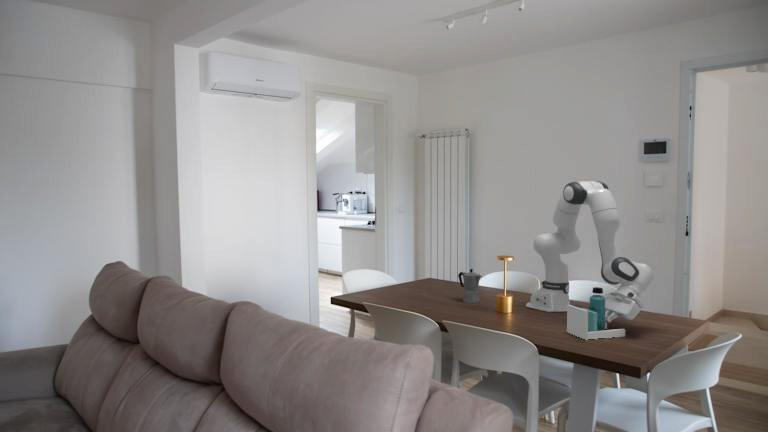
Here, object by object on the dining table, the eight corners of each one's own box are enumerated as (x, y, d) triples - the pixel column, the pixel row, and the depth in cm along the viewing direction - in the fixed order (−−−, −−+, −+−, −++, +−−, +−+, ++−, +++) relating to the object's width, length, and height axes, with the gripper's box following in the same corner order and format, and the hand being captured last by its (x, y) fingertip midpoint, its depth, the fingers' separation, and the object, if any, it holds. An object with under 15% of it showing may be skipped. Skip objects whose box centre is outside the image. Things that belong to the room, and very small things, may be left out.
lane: (605, 328, 231) (605, 301, 231) (625, 336, 219) (625, 307, 219) (566, 332, 226) (567, 304, 226) (585, 340, 214) (585, 311, 214)
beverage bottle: (593, 331, 227) (594, 285, 226) (608, 334, 222) (609, 287, 221) (585, 334, 223) (586, 287, 222) (600, 337, 218) (601, 289, 217)
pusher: (583, 330, 226) (583, 307, 226) (597, 336, 218) (597, 312, 217) (580, 331, 226) (580, 308, 225) (593, 337, 217) (594, 313, 217)
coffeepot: (486, 302, 287) (486, 269, 286) (476, 304, 280) (476, 271, 279) (463, 298, 298) (463, 266, 297) (453, 300, 291) (453, 268, 290)
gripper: (605, 287, 235) (586, 310, 233) (638, 296, 215) (618, 321, 213) (613, 296, 237) (594, 319, 235) (647, 306, 217) (627, 331, 215)
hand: (606, 320), depth 224 cm, fingers closed
